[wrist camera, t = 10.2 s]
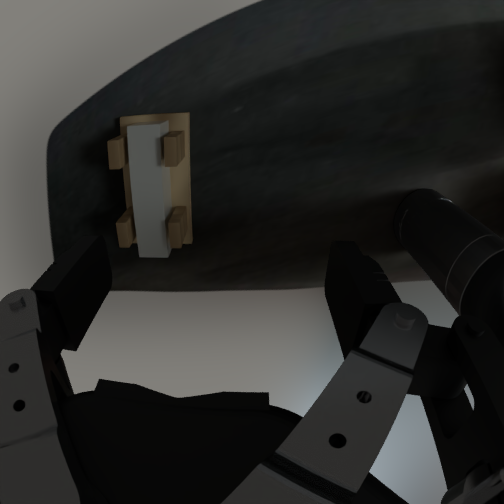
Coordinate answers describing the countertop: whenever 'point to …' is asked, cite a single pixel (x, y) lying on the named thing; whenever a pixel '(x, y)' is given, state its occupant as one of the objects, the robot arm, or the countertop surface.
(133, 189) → the clay bar
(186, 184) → the rack
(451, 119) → the countertop surface
